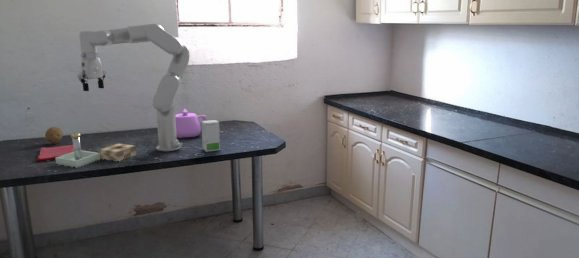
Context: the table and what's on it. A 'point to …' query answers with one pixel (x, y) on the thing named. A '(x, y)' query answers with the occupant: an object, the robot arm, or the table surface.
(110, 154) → the hitch block
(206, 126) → the skincare box
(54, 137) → the natural sponge
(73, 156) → the tray
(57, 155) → the dish towel
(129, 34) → the robot arm
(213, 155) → the table surface
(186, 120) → the teapot
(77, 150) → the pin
